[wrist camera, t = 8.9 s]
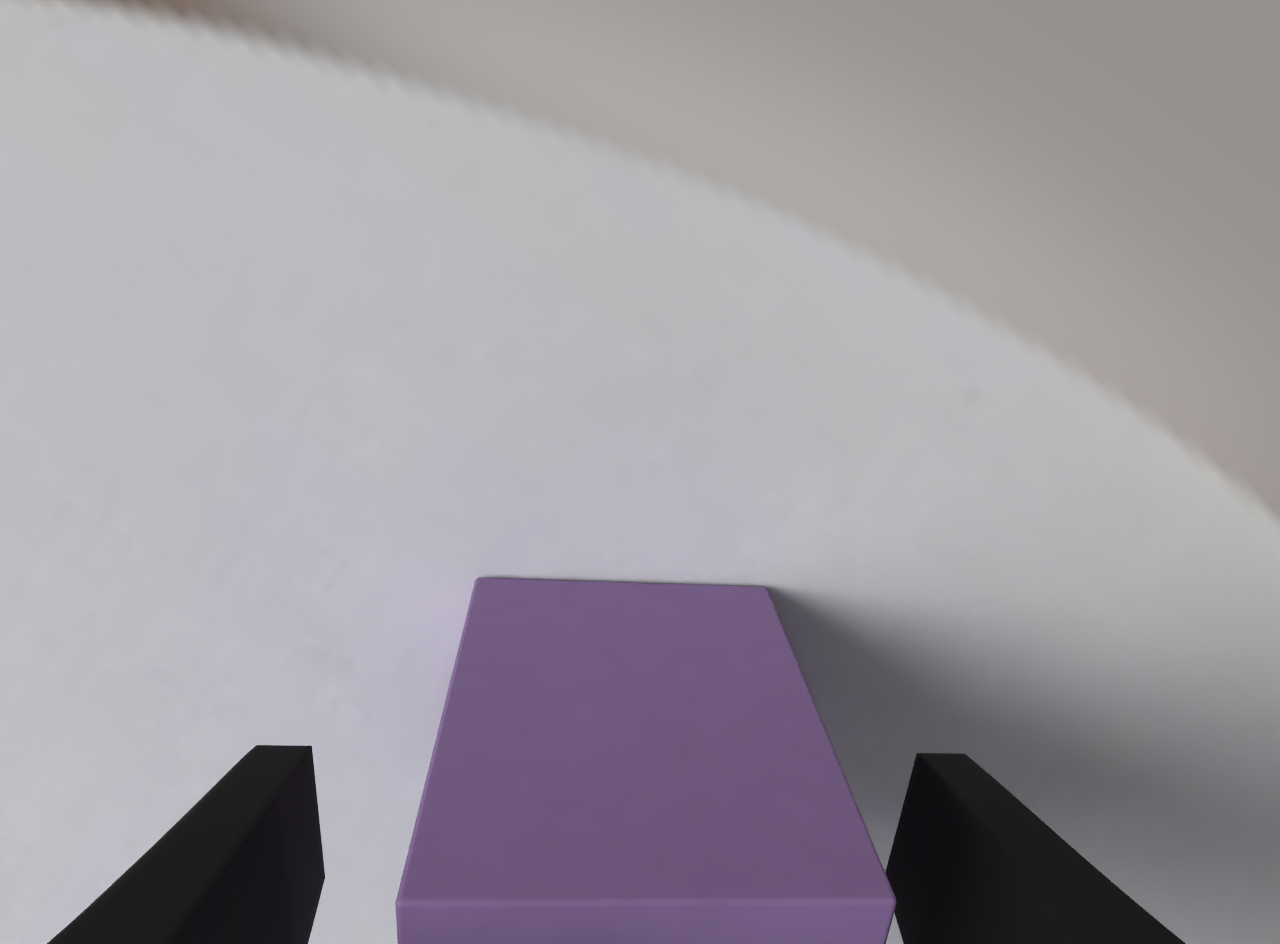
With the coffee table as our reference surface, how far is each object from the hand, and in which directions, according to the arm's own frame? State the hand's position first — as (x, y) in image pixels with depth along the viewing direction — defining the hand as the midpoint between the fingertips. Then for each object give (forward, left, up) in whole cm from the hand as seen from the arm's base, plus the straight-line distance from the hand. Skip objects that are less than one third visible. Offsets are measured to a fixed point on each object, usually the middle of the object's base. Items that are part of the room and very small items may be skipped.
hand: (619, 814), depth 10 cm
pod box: (0, 0, -2) cm, 2 cm away
